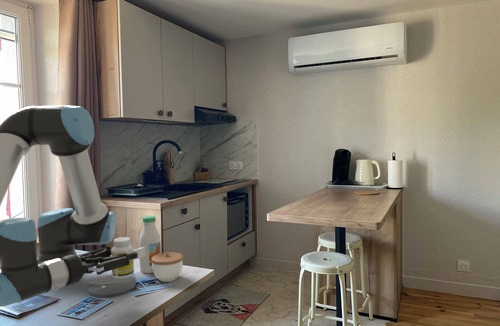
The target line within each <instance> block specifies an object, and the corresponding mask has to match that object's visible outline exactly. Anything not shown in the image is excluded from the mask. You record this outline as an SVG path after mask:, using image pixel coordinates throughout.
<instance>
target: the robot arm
mask: <svg viewBox="0 0 500 326" xmlns="http://www.w3.org/2000/svg"><path fill="white" fill-rule="evenodd" d="M94 139H95V125H94V121H93V119H92V116H91V114H90V113H89V111H88V109H85V108H84V107H83V106H79V105H77V106H76V105H71V104H70V105H69V104H67V105H41V106H40V105H30V106H26V107H23V108H21V109H18V110H16V111H15V112H13V113H12V114H11V115H9V116H8V117H7V118H6V119H4V121H2V123H1V124H0V206H1V205H2V203H3V201H4V198H5V196H6V194H7V191H8V190H9V188H10V185H11V182H12V180H13V178H14V175H15V174H16V171H17V169H18V166H19V165H20V162H21V160H22V158H23V156H25V155H27V154H28V153H29V151H30V150H31V148H32V147H33V146H37V145H38V146H41V145H43V146H46V145H47V146H48V147H49V149H50V153H51V154H53V156H56V157H58V160H59V164H60V166H61V168H62V169H61V170H62V172H63V175H64V178H65V181H66V185H67V187H68V190H69V191H68V192H69V194H70V197H71V200H72V204H73V207H74V209H73V208H72V207H71V208H70V207H67V208H65V207H64V208H61V209H55V210H50V211H47V212H43V213H41V214H40V215H39V216H38V217H37V228H36V223H35V220H34V219H33V218H30V217H16V218H15V217H13V218H8V219H7V218H6V219H3V220H1V221H0V308H1V307H2V308H3V307H6V306H9V305H13V304H17V303H18V304H19V303H21V302H24V301H26V300H28V299H32V298H34V297H37V296H41V295H44V294H47V293H54V291H55V290H58V289H62V288H64V287H65V286H66V287H68V286H70V285H74V284H78V283H80V282H81V281H82V279H83V277H84V276H85V274H86V275H87V274H88V275H89V274H93V273H96V275H98V276H99V275H102V274H104V273H106V272H109V271H112V270H114V269H117V268H120V267H124V266H127V265H130V261H131V260H133V261H134V260H137V259H140V258H141V257H144V256H145V247H141V248H134V249H133V250H131V251H128V252H125V254H121V255H116V256H111V249H112V248H113V247H111V246H110V245H109V244H110V243H111V242H112V241H113V240H114V237H115V233H116V228H117V214H116V212H114V211H109V209H108V206H107V204H105V203H104V202H102V201H101V196H100V193H99V190H98V185H97V181H96V178H95V174H94V170H93V167H92V163H91V162H92V161H91V158H90V156H89V151H88V150H89V148H91V145H92V143H93V141H94ZM105 244H106V245H107V244H108V245H107V246H106V247H101V248H97V249H95V250H90V251H87V252H84V253H82V254H77V252H76V246H80V245H81V246H87V245H88V246H89V245H90V246H93V245H94V246H95V245H99V246H101V245H105ZM129 245H131V246H132V243H131V242H130V244H129ZM38 252H39V254H38Z"/></svg>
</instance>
